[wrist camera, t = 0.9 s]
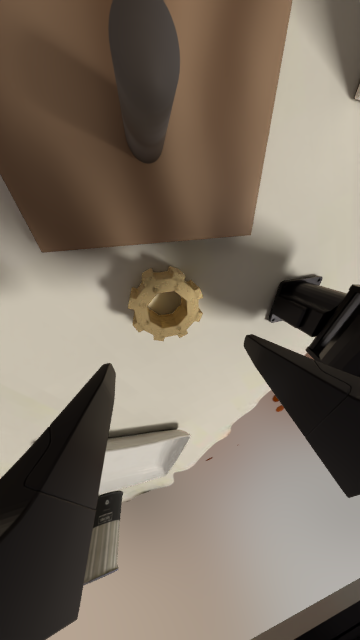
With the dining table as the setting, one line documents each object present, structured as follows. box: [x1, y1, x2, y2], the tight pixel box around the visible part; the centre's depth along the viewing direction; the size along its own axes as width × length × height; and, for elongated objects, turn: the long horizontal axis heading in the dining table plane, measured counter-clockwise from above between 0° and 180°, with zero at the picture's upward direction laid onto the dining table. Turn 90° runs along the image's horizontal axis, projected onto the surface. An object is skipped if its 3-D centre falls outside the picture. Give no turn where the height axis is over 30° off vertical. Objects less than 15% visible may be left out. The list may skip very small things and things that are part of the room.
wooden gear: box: [128, 266, 203, 341], centre depth 15 cm, size 7×7×3 cm
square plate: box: [99, 430, 191, 494], centre depth 35 cm, size 27×27×4 cm
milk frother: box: [83, 491, 123, 585], centre depth 46 cm, size 14×16×15 cm
